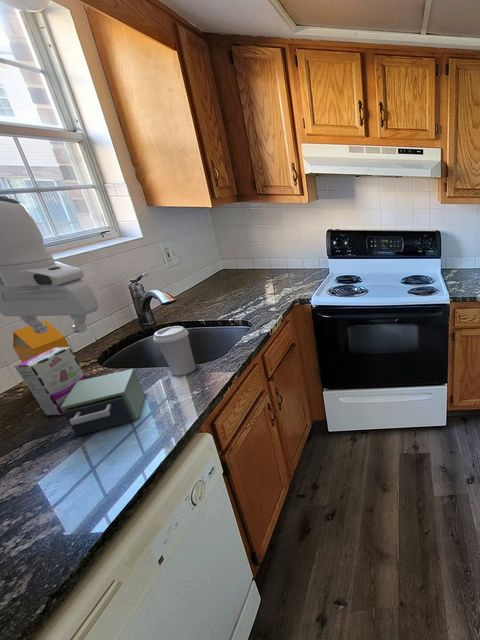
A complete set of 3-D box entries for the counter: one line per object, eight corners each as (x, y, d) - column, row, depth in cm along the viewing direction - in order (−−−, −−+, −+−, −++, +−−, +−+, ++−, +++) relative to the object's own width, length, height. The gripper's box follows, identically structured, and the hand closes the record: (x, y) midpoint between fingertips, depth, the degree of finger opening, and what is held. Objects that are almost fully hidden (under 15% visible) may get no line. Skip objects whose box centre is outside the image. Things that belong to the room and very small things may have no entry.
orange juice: (36, 387, 117) (2, 330, 108) (67, 373, 125) (37, 319, 116) (55, 389, 116) (22, 332, 107) (85, 375, 123) (56, 320, 115)
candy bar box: (80, 393, 113) (54, 346, 106) (96, 393, 113) (71, 346, 106) (44, 416, 103) (12, 365, 96) (61, 415, 103) (31, 365, 96)
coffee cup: (188, 362, 130) (173, 323, 124) (207, 366, 127) (193, 326, 121) (161, 375, 122) (143, 335, 115) (181, 379, 119) (164, 338, 112)
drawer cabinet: (137, 419, 100) (124, 391, 96) (77, 436, 94) (60, 407, 91) (145, 394, 112) (133, 368, 108) (91, 407, 106) (77, 381, 102)
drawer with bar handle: (129, 431, 94) (117, 408, 91) (70, 447, 89) (56, 423, 86) (140, 396, 109) (130, 376, 106) (90, 409, 104) (78, 387, 100)
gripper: (-33, 279, 76) (3, 338, 82) (61, 277, 76) (91, 337, 82) (1, 271, 82) (33, 327, 88) (89, 269, 82) (115, 325, 87)
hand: (61, 332), depth 85 cm, fingers open, 8 cm apart
